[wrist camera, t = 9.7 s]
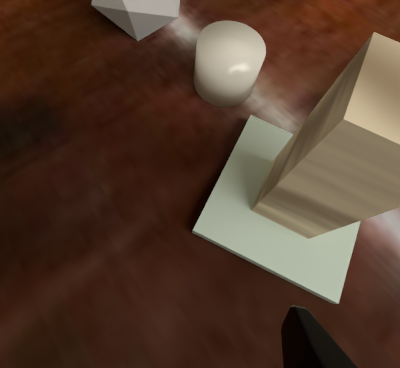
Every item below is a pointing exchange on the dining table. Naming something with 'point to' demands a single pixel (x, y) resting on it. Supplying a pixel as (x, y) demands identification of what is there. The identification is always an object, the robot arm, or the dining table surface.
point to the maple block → (342, 150)
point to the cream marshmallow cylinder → (227, 62)
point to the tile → (266, 229)
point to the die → (139, 14)
